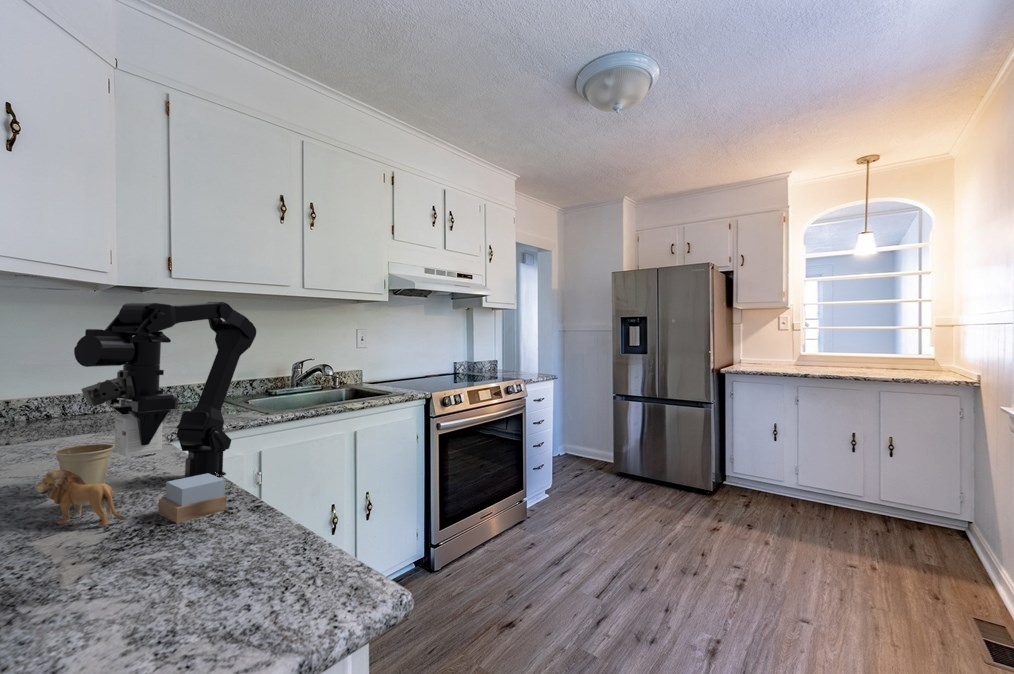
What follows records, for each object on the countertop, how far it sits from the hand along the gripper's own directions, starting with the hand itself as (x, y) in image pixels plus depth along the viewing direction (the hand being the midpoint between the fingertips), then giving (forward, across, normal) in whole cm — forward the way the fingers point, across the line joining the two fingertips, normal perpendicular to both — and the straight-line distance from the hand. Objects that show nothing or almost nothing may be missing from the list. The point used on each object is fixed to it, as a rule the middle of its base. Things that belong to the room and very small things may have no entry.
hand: (138, 442), depth 88 cm
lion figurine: (+12, +5, -9) cm, 16 cm away
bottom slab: (+12, +15, +4) cm, 20 cm away
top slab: (+9, +15, +4) cm, 18 cm away
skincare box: (+2, 0, 0) cm, 2 cm away
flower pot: (+12, -17, -4) cm, 21 cm away
